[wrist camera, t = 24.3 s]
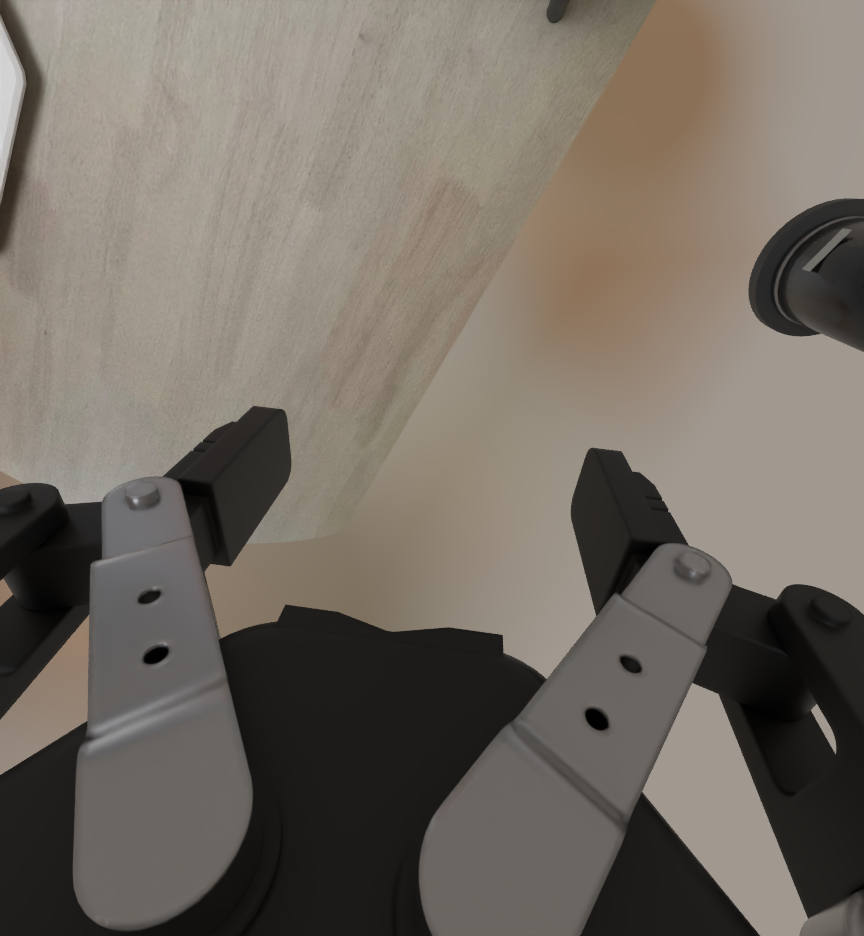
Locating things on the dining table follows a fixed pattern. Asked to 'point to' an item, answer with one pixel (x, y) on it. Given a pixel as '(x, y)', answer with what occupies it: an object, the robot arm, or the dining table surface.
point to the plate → (9, 100)
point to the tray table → (556, 10)
